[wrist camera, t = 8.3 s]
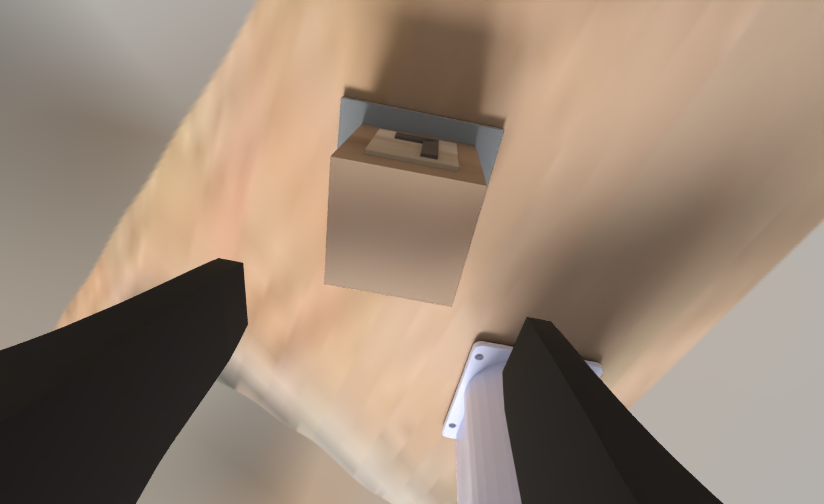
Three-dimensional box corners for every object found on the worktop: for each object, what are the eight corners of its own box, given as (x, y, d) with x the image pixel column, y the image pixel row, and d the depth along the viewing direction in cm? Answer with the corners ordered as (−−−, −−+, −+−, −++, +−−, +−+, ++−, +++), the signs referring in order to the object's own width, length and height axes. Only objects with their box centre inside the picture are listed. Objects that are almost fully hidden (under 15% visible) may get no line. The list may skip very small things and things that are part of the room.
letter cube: (450, 243, 18) (452, 306, 14) (352, 225, 18) (323, 284, 14) (476, 139, 16) (489, 177, 11) (362, 117, 15) (330, 147, 11)
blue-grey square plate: (462, 262, 19) (463, 266, 19) (333, 237, 19) (330, 240, 19) (502, 128, 16) (504, 130, 15) (343, 96, 15) (341, 97, 15)
